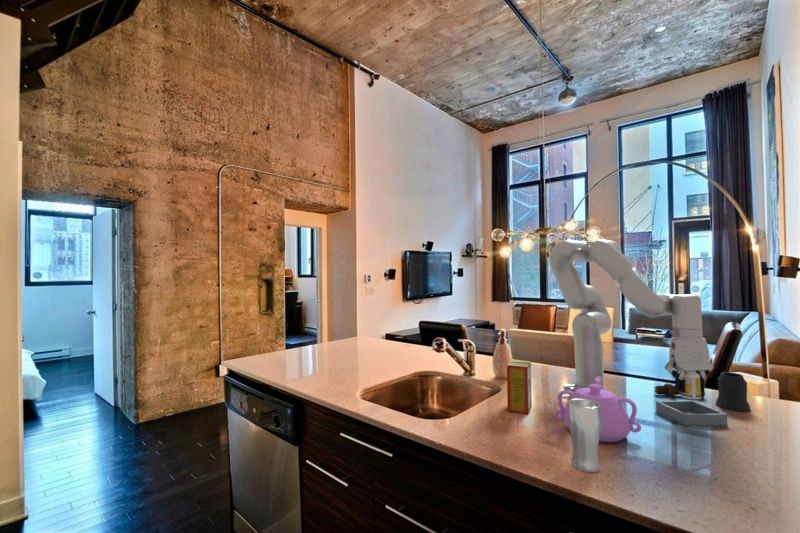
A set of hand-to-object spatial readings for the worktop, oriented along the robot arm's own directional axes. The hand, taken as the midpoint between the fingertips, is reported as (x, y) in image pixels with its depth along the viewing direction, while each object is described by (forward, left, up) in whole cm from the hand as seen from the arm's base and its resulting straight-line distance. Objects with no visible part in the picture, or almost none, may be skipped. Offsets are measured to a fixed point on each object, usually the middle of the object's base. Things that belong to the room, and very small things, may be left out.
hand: (689, 390), depth 119 cm
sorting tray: (0, 0, -9) cm, 9 cm away
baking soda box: (-50, +12, -9) cm, 52 cm away
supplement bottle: (0, 0, -2) cm, 2 cm away
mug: (+23, +10, -9) cm, 27 cm away
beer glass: (-48, -27, -9) cm, 56 cm away
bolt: (+13, +22, -9) cm, 27 cm away
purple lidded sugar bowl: (-34, -7, -9) cm, 36 cm away
